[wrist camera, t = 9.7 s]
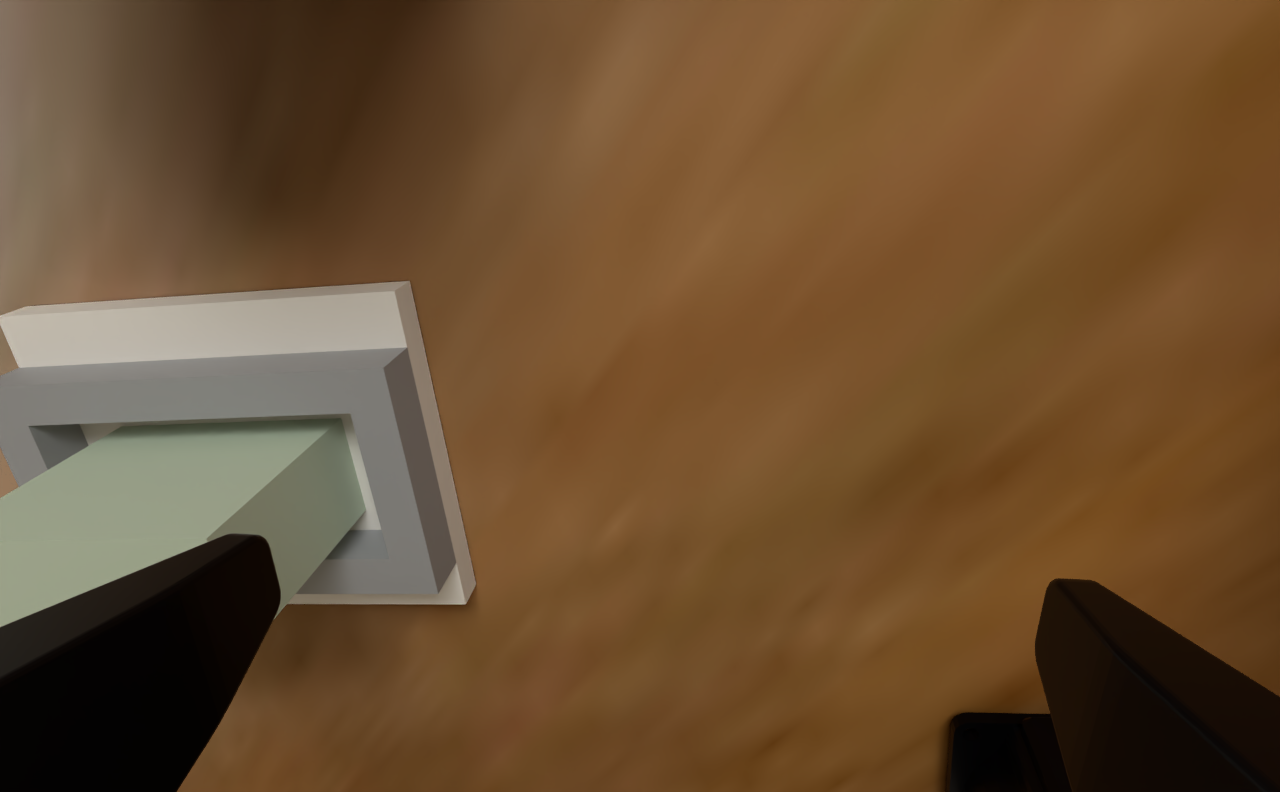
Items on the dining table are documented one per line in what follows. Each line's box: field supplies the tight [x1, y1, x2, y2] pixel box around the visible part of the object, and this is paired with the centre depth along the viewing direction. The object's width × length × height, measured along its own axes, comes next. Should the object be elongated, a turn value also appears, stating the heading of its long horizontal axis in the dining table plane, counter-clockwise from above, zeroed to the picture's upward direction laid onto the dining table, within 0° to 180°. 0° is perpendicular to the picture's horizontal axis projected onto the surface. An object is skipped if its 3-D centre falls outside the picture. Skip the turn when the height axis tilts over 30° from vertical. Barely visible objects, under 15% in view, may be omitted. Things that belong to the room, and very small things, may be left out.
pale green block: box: [0, 418, 366, 627], centre depth 20 cm, size 7×3×6 cm, turn 96°
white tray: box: [0, 281, 476, 604], centre depth 23 cm, size 10×12×2 cm
